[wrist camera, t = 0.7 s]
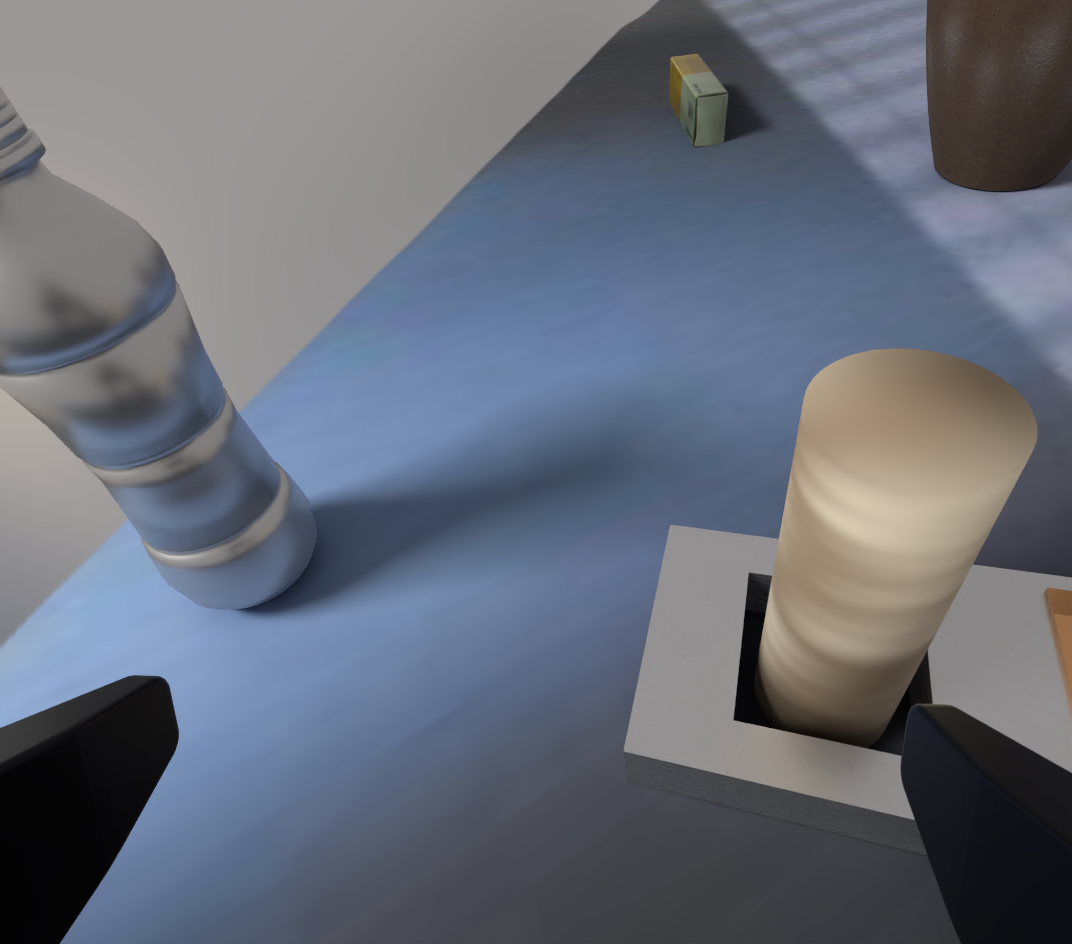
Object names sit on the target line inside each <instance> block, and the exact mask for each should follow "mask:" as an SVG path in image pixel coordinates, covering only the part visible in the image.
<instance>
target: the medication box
mask: <svg viewBox="0 0 1072 944" xmlns="http://www.w3.org/2000/svg"><path fill="white" fill-rule="evenodd" d="M728 97H729V94H728V92H727V91H726V90H725V88H724V87H723V86H722V85H721V83H720V82H719V81H718V79H717V78H716V77H715V75H714V74H713V73H712V72H711V70H710V69H709V68H708V66H707V65H706V64H705V63H704V61H703V60H702V59H701V57H700V56H699V55H698V54H692V55H684V56H676V57H671V61H670V95H669V102H670V104H671V105H672V107H673V109H674V111H675V113H676V115H677V117H678V119H679V121H680V123H681V124H682V126H683V128H684V130H685V132H686V134H687V136H688V138H689V139H690V141H691V143H692V145H693V146H694V147H703V146H711V145H716V144H720V143H724V140H725V128H726V118H727V107H728Z"/></svg>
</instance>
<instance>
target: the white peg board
mask: <svg viewBox="0 0 1072 944" xmlns="http://www.w3.org/2000/svg"><path fill="white" fill-rule="evenodd" d="M778 542H779V539H775V538H767V537H760V536H752V535H744V534H737V533H729V532H722V531H714V530H707V529H699V528H691V527H684V526H676V525H670V529H669V533H668V538H667V543H666V548H665V553H664V558H663V562H662V567H661V572H660V577H659V582H658V587H657V592H656V596H655V601H654V606H653V611H652V616H651V621H650V626H649V630H648V635H647V640H646V645H645V650H644V655H643V660H642V664H641V669H640V674H639V679H638V684H637V689H636V694H635V698H634V703H633V708H632V713H631V718H630V723H629V728H628V732H627V737H626V742H625V747H624V758H625V765H626V772H627V780H628V781H629V782H633V783H637V784H641V785H645V786H649V787H653V788H658V789H662V790H666V791H670V792H674V793H678V794H682V795H686V796H690V797H694V798H698V799H702V800H706V801H710V802H714V803H718V804H722V805H726V806H730V807H734V808H738V809H742V810H746V811H750V812H754V813H758V814H762V815H766V816H770V817H774V818H778V819H782V820H786V821H790V822H794V823H798V824H802V825H806V826H810V827H814V828H818V829H822V830H826V831H830V832H834V833H838V834H842V835H846V836H850V837H854V838H859V839H863V840H867V841H871V842H875V843H879V844H883V845H887V846H891V847H895V848H899V849H903V850H907V851H911V852H915V853H919V854H923V855H927V853H926V850H925V847H924V844H923V841H922V838H921V836H920V833H919V830H918V827H917V824H916V822H915V819H914V816H913V813H912V810H911V808H910V805H909V802H908V799H907V796H906V794H905V791H904V788H903V784H902V780H901V773H900V764H901V756H899V755H895V754H890V753H885V752H881V751H876V750H871V749H866V748H862V747H857V746H852V745H847V744H843V743H838V742H833V741H829V740H824V739H819V738H814V737H810V736H805V735H800V734H795V733H791V732H786V731H781V730H777V729H772V728H767V727H762V726H758V725H753V724H748V723H744V722H739V721H734V720H733V719H734V709H735V700H736V690H737V680H738V671H739V661H740V652H741V642H742V632H743V623H744V613H745V610H747V611H753V612H759V613H765V614H766V609H767V604H768V598H769V592H770V587H771V581H772V575H773V570H774V564H775V559H776V553H777V547H778ZM908 687H909V701H910V709H911V707H913V706H914V705H915V704H945V705H951V706H954V707H956V708H958V709H960V710H962V711H964V712H965V713H967V714H969V715H971V716H972V717H974V718H976V719H978V720H979V721H981V722H983V723H985V724H986V725H988V726H990V727H992V728H994V729H995V730H997V731H999V732H1001V733H1002V734H1004V735H1006V736H1008V737H1009V738H1011V739H1013V740H1015V741H1017V742H1018V743H1020V744H1022V745H1024V746H1025V747H1027V748H1029V749H1031V750H1032V751H1034V752H1036V753H1038V754H1039V755H1041V756H1043V757H1045V758H1047V759H1048V760H1050V761H1052V762H1054V763H1055V764H1057V765H1059V766H1061V767H1062V768H1064V769H1066V770H1068V771H1069V772H1071V773H1072V578H1071V577H1063V576H1056V575H1048V574H1041V573H1033V572H1025V571H1018V570H1010V569H1003V568H995V567H987V566H980V565H972V567H971V569H970V571H969V572H968V574H967V576H966V578H965V580H964V582H963V584H962V586H961V588H960V589H959V591H958V593H957V595H956V597H955V599H954V601H953V603H952V605H951V606H950V608H949V610H948V612H947V614H946V616H945V618H944V620H943V622H942V623H941V625H940V627H939V629H938V631H937V633H936V635H935V637H934V639H933V640H932V642H931V644H930V646H929V648H928V650H927V652H926V654H925V656H924V657H923V659H922V661H921V663H920V665H919V667H918V669H917V671H916V673H915V674H914V676H913V678H912V680H911V682H910V684H909V686H908ZM927 856H928V855H927Z"/></svg>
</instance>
